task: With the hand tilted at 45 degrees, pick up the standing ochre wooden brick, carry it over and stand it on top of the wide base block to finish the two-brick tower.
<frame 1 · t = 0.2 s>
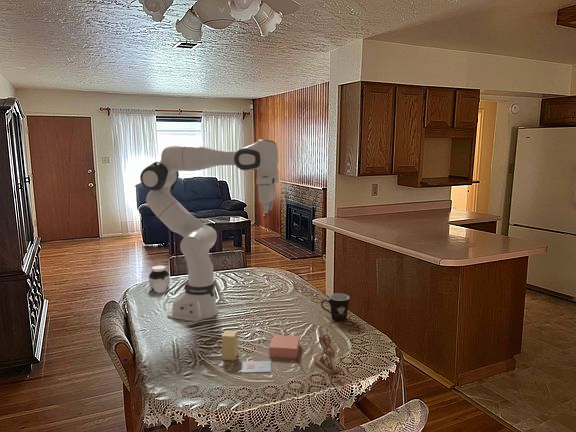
hand: (268, 211, 182), 48 cm above the table, tool pointing down, fingers open, 8 cm apart
ochre brick: (230, 356, 157), on the table
instruction card: (256, 367, 149), on the table
base brick: (284, 351, 161), on the table
spread jar: (160, 290, 226), on the table
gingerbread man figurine: (326, 368, 149), on the table
coffee mug: (335, 318, 190), on the table
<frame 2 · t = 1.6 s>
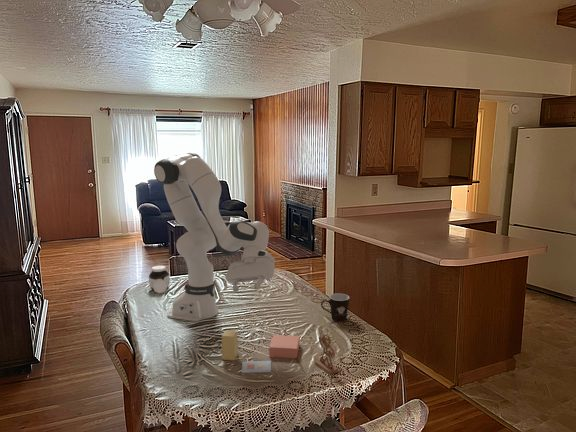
hand: (245, 289, 163), 22 cm above the table, tool tilted 50°, fingers open, 8 cm apart
nothing on the table moved.
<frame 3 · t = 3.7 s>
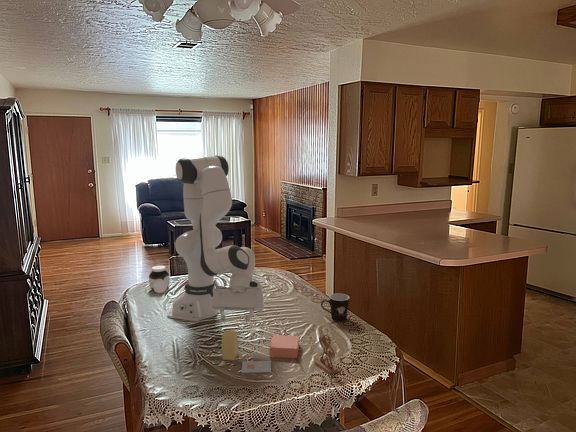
hand: (235, 320, 161), 11 cm above the table, tool tilted 45°, fingers open, 8 cm apart
nothing on the table moved.
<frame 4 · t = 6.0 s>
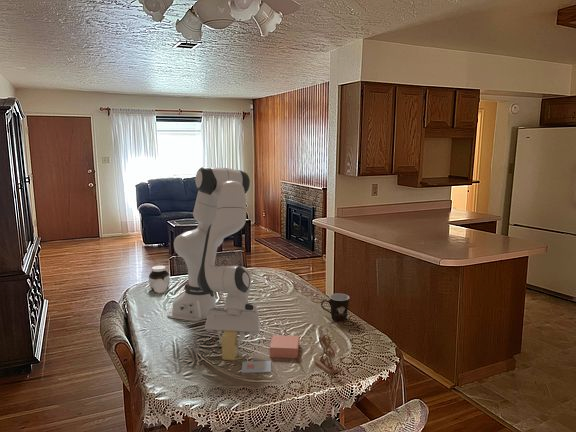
hand: (229, 344, 155), 5 cm above the table, tool tilted 45°, fingers closed on ochre brick, 4 cm apart
ochre brick: (230, 356, 157), on the table, touching gripper
everything else where it was.
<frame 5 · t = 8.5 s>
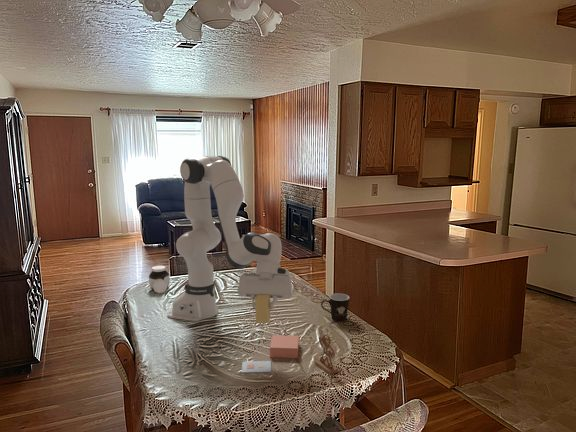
hand: (262, 308, 155), 18 cm above the table, tool tilted 45°, fingers closed on ochre brick, 4 cm apart
ochre brick: (263, 320, 156), point 13 cm above the table, touching gripper
everything else where it was.
when the fingers open (10 cm above the table, at t = 11.2 s): ochre brick drops 1 cm, point 4 cm above the table.
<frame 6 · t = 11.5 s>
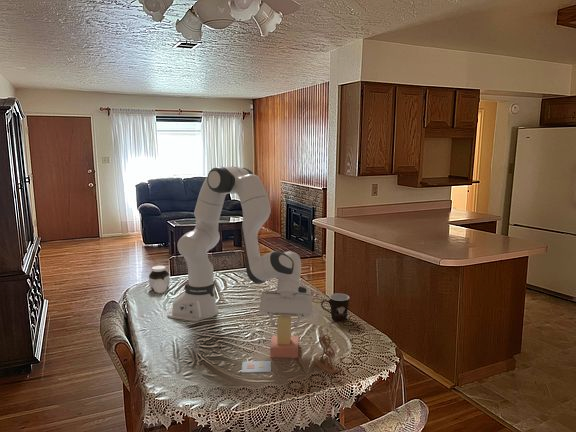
hand: (284, 326, 159), 10 cm above the table, tool tilted 45°, fingers open, 7 cm apart
ochre brick: (284, 341, 160), point 4 cm above the table
everything else where it was.
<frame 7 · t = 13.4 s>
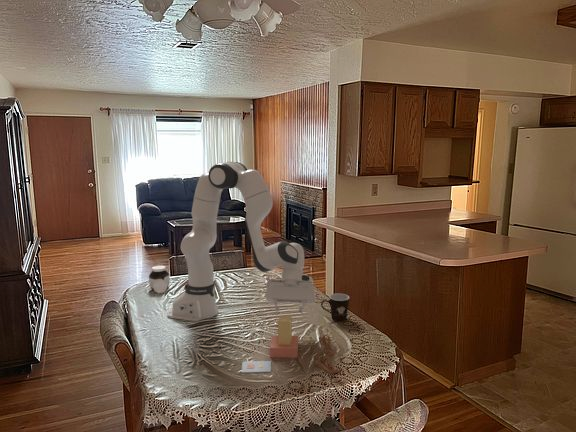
hand: (288, 311, 171), 10 cm above the table, tool tilted 45°, fingers open, 8 cm apart
nothing on the table moved.
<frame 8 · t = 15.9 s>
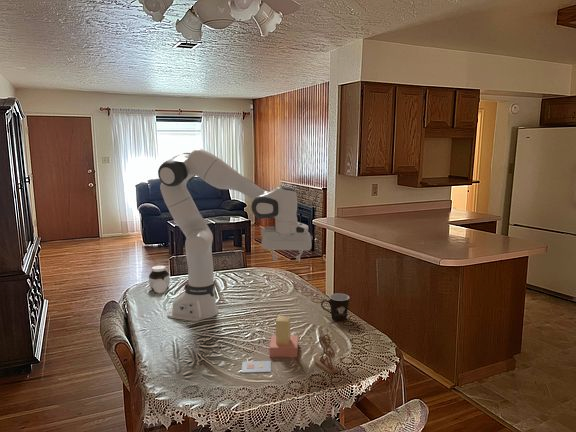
hand: (286, 260, 176), 29 cm above the table, tool pointing down, fingers open, 8 cm apart
ochre brick: (283, 341, 161), point 4 cm above the table, touching base brick
base brick: (284, 351, 161), on the table, touching ochre brick
everything else where it was.
at the end: ochre brick inside the target area on the base brick (0.3 cm from its centre), point 4.0 cm above the base brick's base; ochre brick tilted 1°; the gripper is holding nothing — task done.
